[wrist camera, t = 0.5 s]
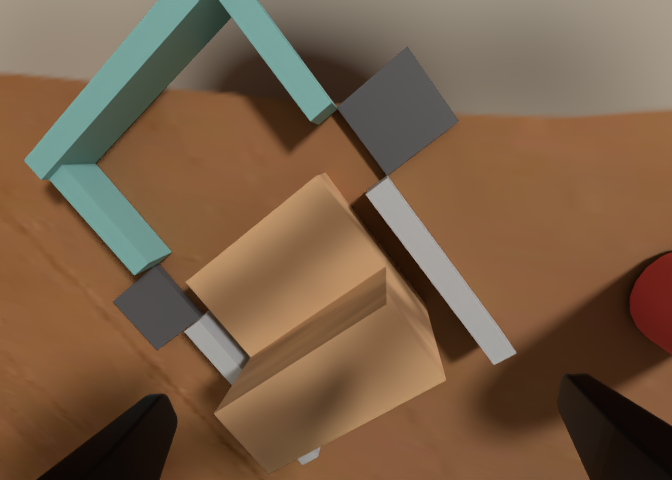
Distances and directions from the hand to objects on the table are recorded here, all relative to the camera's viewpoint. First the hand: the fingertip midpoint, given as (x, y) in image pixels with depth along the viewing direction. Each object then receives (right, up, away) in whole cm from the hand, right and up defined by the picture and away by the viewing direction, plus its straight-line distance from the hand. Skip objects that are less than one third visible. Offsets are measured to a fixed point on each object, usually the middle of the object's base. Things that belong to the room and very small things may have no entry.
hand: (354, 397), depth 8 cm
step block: (-2, +1, +16) cm, 16 cm away
